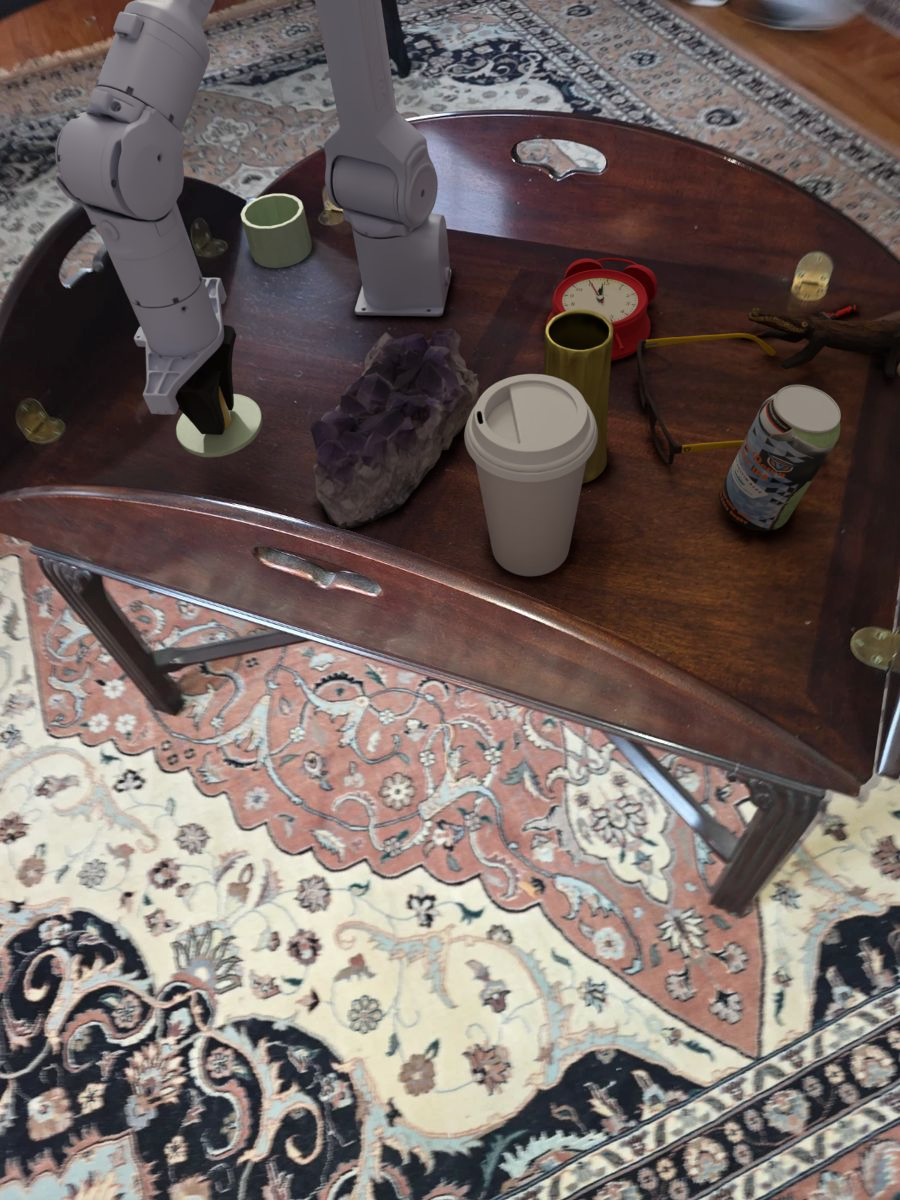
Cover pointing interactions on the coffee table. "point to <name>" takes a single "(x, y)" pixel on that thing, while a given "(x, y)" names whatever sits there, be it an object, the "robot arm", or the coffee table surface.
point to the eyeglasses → (651, 406)
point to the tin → (276, 230)
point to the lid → (236, 435)
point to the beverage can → (780, 457)
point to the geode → (391, 426)
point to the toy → (831, 335)
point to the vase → (583, 368)
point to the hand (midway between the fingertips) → (217, 419)
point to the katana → (823, 317)
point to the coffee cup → (530, 467)
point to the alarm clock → (610, 299)
